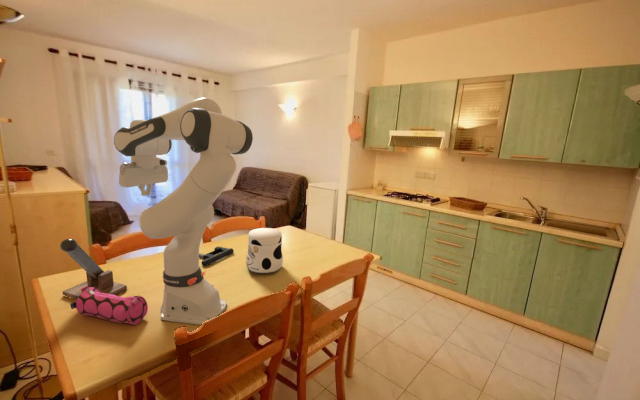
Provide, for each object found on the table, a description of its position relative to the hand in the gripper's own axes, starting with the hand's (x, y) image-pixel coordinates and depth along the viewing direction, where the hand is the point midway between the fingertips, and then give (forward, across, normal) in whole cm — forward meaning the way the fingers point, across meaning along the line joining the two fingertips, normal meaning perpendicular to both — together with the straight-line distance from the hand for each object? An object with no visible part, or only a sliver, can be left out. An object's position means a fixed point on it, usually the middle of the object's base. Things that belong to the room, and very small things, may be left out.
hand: (146, 195), depth 119 cm
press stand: (+35, -20, +5) cm, 41 cm away
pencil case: (+36, -28, -14) cm, 48 cm away
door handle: (+36, +26, -11) cm, 45 cm away
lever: (+30, -17, +5) cm, 35 cm away
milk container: (+35, +25, -42) cm, 60 cm away
